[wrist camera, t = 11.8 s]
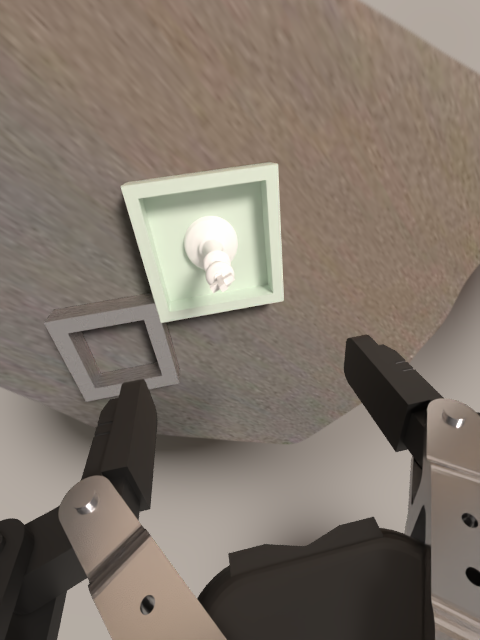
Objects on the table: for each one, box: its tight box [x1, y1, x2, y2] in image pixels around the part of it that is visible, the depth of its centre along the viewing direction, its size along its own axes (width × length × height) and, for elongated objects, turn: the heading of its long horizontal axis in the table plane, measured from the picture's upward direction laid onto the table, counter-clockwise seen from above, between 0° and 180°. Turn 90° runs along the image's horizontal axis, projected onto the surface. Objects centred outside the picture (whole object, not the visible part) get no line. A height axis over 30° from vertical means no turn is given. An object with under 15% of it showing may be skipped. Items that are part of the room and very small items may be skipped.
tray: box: [121, 162, 284, 323], centre depth 27 cm, size 12×12×3 cm
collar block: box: [44, 293, 180, 402], centre depth 31 cm, size 10×10×2 cm
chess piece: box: [184, 216, 238, 293], centre depth 23 cm, size 5×5×10 cm
